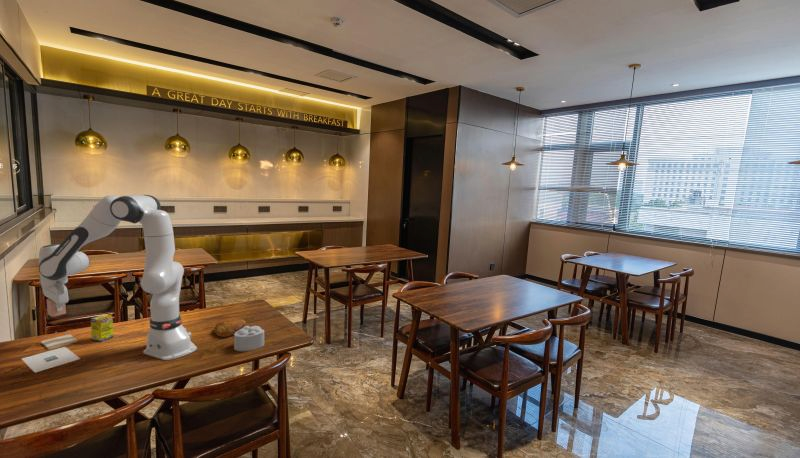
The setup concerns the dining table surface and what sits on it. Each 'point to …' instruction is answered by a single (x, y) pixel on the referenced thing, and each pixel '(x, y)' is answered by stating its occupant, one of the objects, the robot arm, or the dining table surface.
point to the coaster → (59, 341)
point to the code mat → (50, 359)
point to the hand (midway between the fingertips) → (56, 308)
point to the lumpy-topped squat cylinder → (248, 338)
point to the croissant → (229, 326)
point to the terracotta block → (54, 308)
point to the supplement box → (102, 328)
